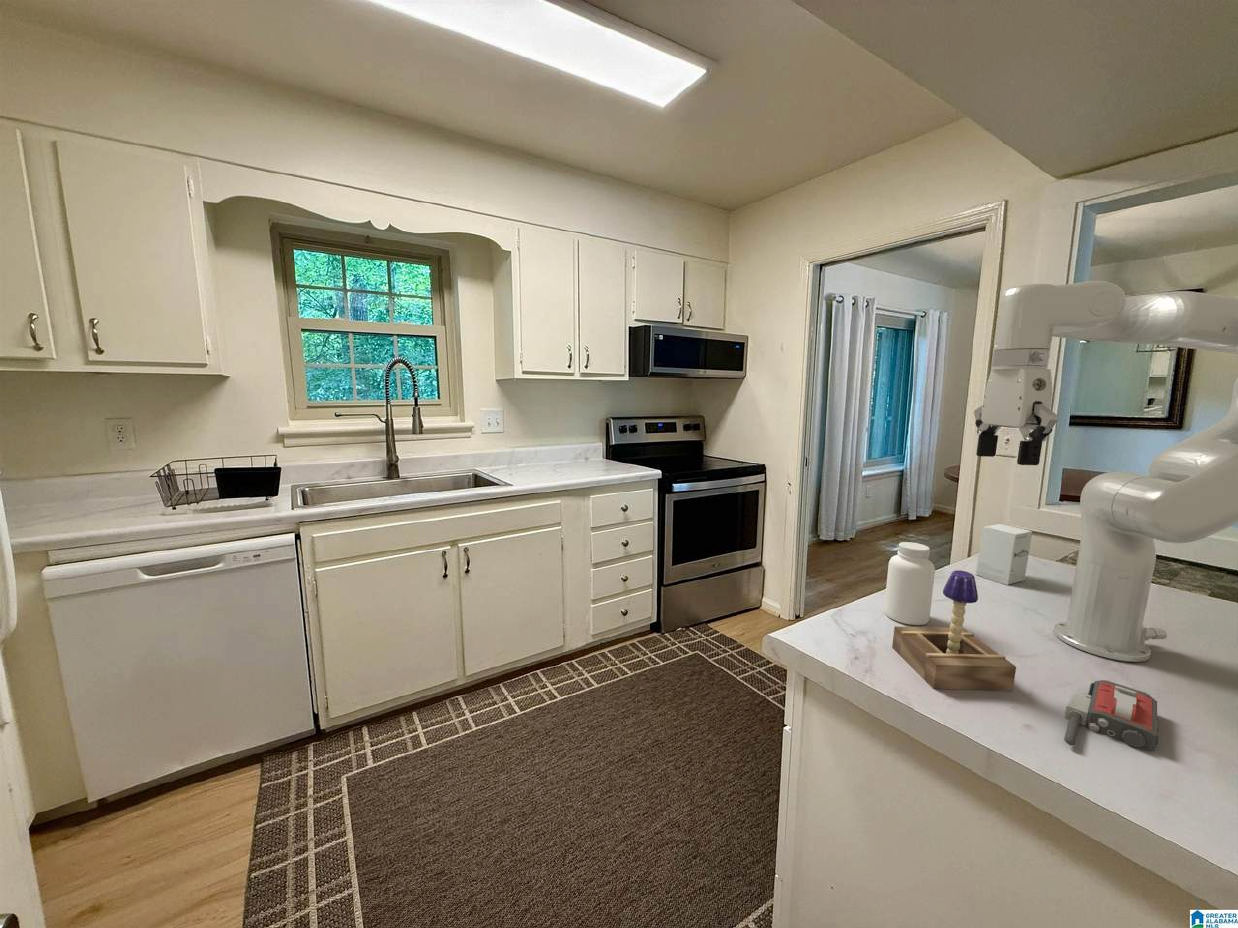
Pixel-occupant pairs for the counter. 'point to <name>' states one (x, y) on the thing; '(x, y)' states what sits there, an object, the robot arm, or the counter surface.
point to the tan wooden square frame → (953, 660)
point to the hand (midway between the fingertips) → (1005, 460)
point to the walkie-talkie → (1114, 714)
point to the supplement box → (1003, 553)
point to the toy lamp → (959, 604)
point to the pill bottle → (910, 585)
